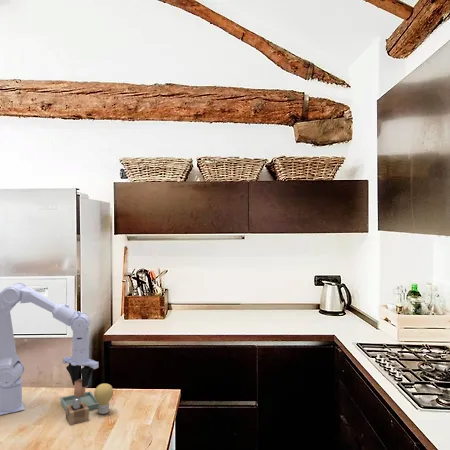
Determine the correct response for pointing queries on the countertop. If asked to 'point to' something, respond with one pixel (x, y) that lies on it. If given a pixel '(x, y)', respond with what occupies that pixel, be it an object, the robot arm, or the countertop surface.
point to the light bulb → (103, 397)
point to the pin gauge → (76, 403)
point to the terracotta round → (79, 388)
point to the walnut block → (77, 414)
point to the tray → (87, 399)
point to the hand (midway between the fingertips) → (80, 385)
